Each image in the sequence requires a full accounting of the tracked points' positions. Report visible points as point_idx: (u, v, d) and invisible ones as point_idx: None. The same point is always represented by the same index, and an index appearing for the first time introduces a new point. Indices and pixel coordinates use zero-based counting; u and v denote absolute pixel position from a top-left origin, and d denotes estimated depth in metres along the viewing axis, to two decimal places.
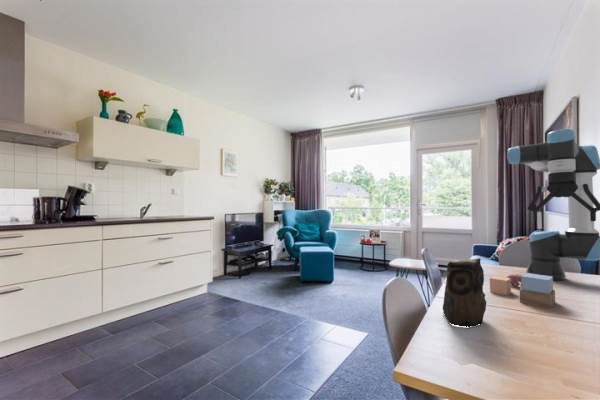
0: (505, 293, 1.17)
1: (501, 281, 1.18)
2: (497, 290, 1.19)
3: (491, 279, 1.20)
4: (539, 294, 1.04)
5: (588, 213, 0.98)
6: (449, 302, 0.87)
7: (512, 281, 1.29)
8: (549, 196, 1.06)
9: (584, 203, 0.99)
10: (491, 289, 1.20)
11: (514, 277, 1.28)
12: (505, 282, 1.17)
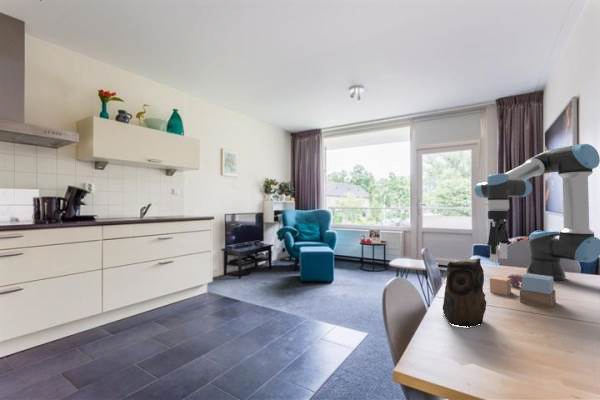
0: (505, 293, 1.17)
1: (501, 281, 1.18)
2: (497, 290, 1.19)
3: (491, 279, 1.20)
4: (539, 294, 1.03)
5: None
6: (449, 302, 0.87)
7: (512, 281, 1.29)
8: None
9: None
10: (491, 289, 1.20)
11: (514, 277, 1.28)
12: (505, 282, 1.17)
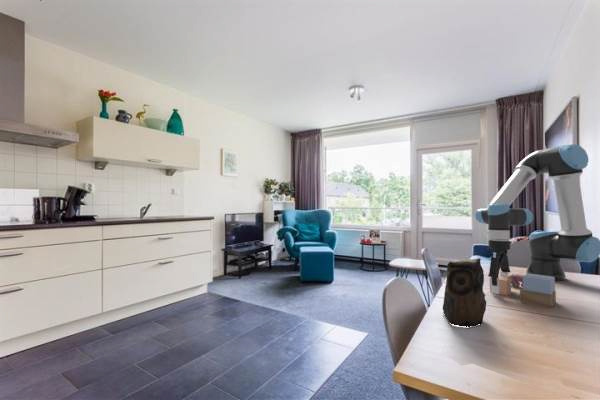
0: (505, 293, 1.17)
1: (501, 281, 1.18)
2: None
3: None
4: (539, 294, 1.03)
5: None
6: (449, 302, 0.87)
7: (513, 281, 1.29)
8: None
9: None
10: None
11: (515, 277, 1.28)
12: (505, 282, 1.17)
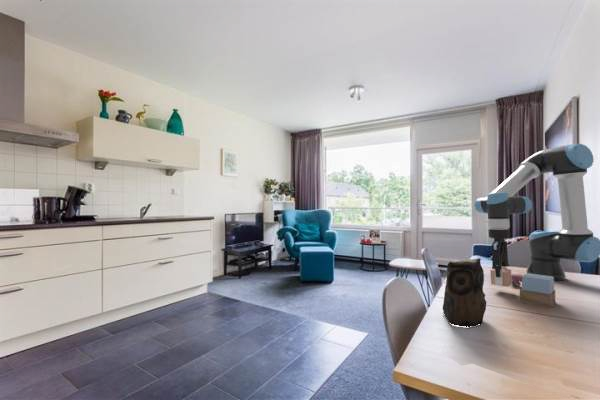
0: (506, 284, 1.17)
1: None
2: None
3: (492, 271, 1.21)
4: (539, 294, 1.03)
5: None
6: (449, 302, 0.87)
7: (513, 281, 1.29)
8: None
9: None
10: (492, 281, 1.21)
11: (515, 277, 1.28)
12: (506, 273, 1.17)
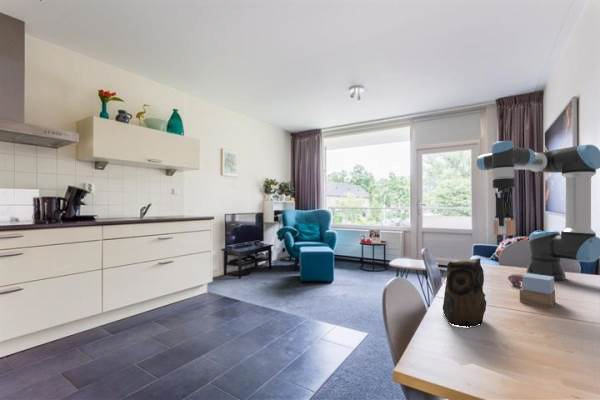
0: (509, 233, 1.15)
1: None
2: None
3: (495, 221, 1.19)
4: (539, 294, 1.03)
5: None
6: (449, 302, 0.87)
7: (514, 281, 1.29)
8: None
9: None
10: (495, 231, 1.19)
11: (516, 277, 1.28)
12: (509, 222, 1.15)
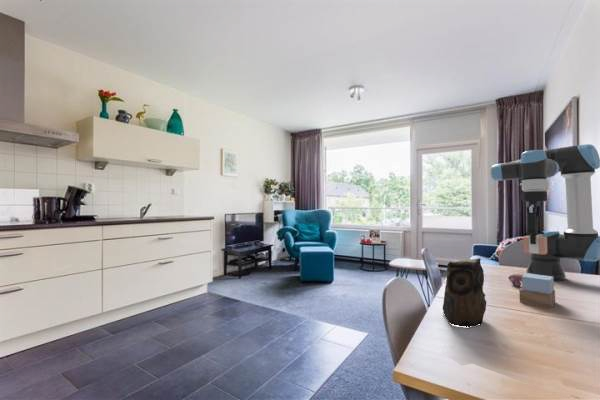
0: (542, 252, 1.04)
1: None
2: None
3: (525, 238, 1.08)
4: (539, 294, 1.03)
5: None
6: (449, 302, 0.87)
7: (514, 281, 1.30)
8: None
9: None
10: (525, 249, 1.08)
11: (516, 277, 1.28)
12: (542, 240, 1.04)
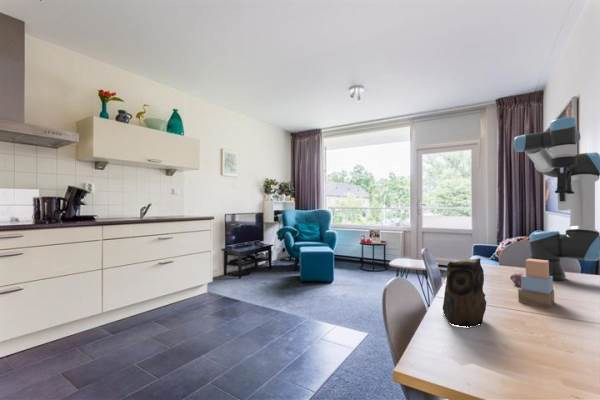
0: (544, 276, 1.04)
1: (539, 263, 1.05)
2: (535, 273, 1.06)
3: (527, 261, 1.08)
4: (538, 294, 1.04)
5: None
6: (449, 302, 0.87)
7: (516, 280, 1.30)
8: None
9: None
10: (527, 273, 1.08)
11: (518, 276, 1.29)
12: (544, 264, 1.04)
